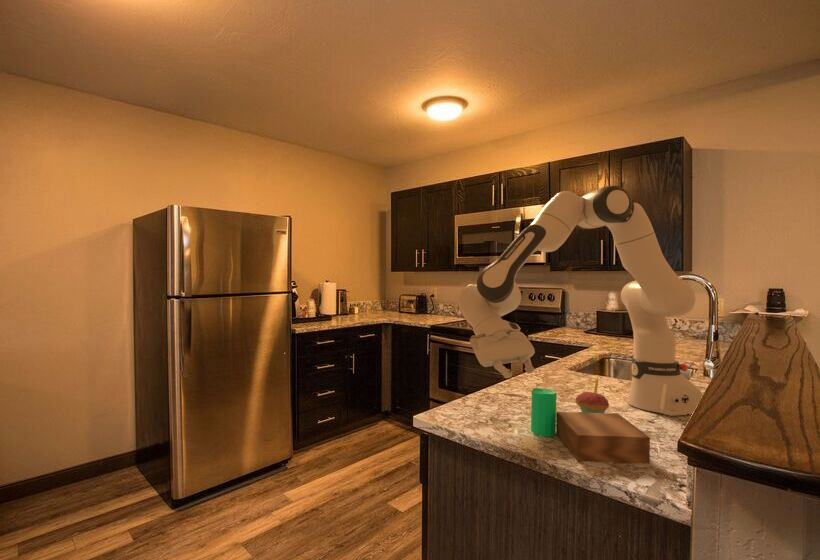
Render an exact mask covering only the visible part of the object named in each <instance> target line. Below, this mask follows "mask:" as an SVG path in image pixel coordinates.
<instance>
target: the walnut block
mask: <svg viewBox="0 0 820 560" xmlns="http://www.w3.org/2000/svg"><path fill="white" fill-rule="evenodd" d="M556 434H557V435H556ZM556 434H555V435H556V436H557V437H558V439H559V438H560V439H559V440H560V441H561V443H562V444H563V443H564V444H563V445H564V446H565V447H566V449H567V448H568V449H567V450H568V451H569V453H570V452H571V453H572V454H571V453H570V454H571V455H572V457H573V458H574V457H575V458H574V459H575V461H576V462H583V461H590V463H591V462H592V461H593V462H592V463H610V462H615V463H614V464H637V465H638V464H639V463H641V464H642V465H643V464H644V465H650V460H651V459H650V455H651V453H650V452H651V449H650V448H651V445H650V444H651V437H650V436H649V435H648V434H647V433H645V432H643V431H642V430H641V429H639V428H638V427H637V426H635V424H633V423H632V422H630V421H628V419H626V418H624V417H623V416H622V415H621V414H619V413H614V412H613V413H611V412H610V413H609V412H607V413H606V412H604V413H582V411H580V412H576V411H575V412H574V411H556ZM616 462H617V463H616Z"/></svg>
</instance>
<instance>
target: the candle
mask: <svg viewBox="0 0 820 560" xmlns="http://www.w3.org/2000/svg"><path fill="white" fill-rule="evenodd" d="M530 406H531V407H530V408H531V409H530V410H531V411H530V412H531V413H530V414H531V416H530V431H532V432H533V433H535V434H534V435H536V434H537V435H536V436H538V435H541V436H540V437H544V436H551V437H554V436H556V434H555V433H556V414H557V391H554V390H552V389H550V388H541V387H540V388H539V387H534V388H532V389H531V405H530ZM532 432H531V433H532ZM533 433H532V434H533ZM553 435H554V436H553Z"/></svg>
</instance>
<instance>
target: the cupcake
mask: <svg viewBox="0 0 820 560" xmlns="http://www.w3.org/2000/svg"><path fill="white" fill-rule="evenodd" d="M598 387H599V377H597V378H596V379H595V383H594V390H593V392H592V391H584V392H582V393H579V394H578V395H577V396H576V397H575V403H576V405H577V406H578V407H579V408H580V412H582V413H606V410H607V409H608V408H609V406H610V404H609V400H608V399H607V398H606V396H605V395H602V394H601V393H598Z"/></svg>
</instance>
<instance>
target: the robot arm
mask: <svg viewBox="0 0 820 560" xmlns="http://www.w3.org/2000/svg"><path fill="white" fill-rule="evenodd" d="M603 227H607V229H608V230H609V231H610V232H611V234H612V237H613V239H612V240H613V242H614V245H615V248H616V250H617V252H618V253H617V254H618V255H619V258H620V261H621V265H622V267H623V268H624V270H626V272H629V274H630V275H631V276H632V277H633V279H634V280H633V281H631V282H628V283H627V284H624V286H623V288H622V289H621V293H620V300H621V302H622V304H623V305H624V307H625V308H626V310H627V313H628V315H629V319H630V323H631V327H632V333H633V334H632V335H633V356H632V358H631V375H632V377H631V384H630V390H629V393H628V396H627V399H626V403H627V404H628V405H630V406H631V407H635V408H636V409H640V410H644V411H647V412H648V411H649V412H653V413H658V414H662V415H666V416H671V417H672V416H690V415H691V414H692V413H693V411H694V409H695V408H696V406H697V404H698V402H699V401H700V399H701V397H703V393H702V391H701V389H700V388H699V387H698V386H696V384H694V383H693V382H692V381H690V380H689V379H687V378H686V377H685V376H684V375H682V372H681V371H683V372H685V373H686V372H688V371H689V368H690V367H689V366H688V365H687V364H685V363H679V362H677V361H676V336H675V334H674V332H673V330H671V328H670V326H669V324H668V321H667V318H674V317H679V316H684V315H688V313H690V312H691V311H692V310H693V309H694V307H695V305H696V298H697V297H696V294H695V292H694V289H693V288H692V287H691V286H690V285H689V284H687V283H686V282H685V281H684V280H682V279H681V278H680V277H679V276H678V274H677V273H676V272H675V271H674V269H672V267H671V266H670V264H669V262H668V261H667V259H666V258H665V256H664V254H663V251H662V249H661V246H660V244H659V241H658V238H657V236H656V232H655V230H654V228H653V224H652V223H651V220H650V218H649V217H648V215H647V212H646V211H645V209H644V208H643V206H642V205H641V204H639V203H638V202H634V201H633V199H632V197H631V195H630V194H629V192H628V191H627V190H626V189H625V188H623V187H622V186H619V185H608V186H607V185H606V186H603V187H601V188H597V189H595V190H591V191H589V192H587V193H586V194H584V195H582V196H579V195H578V194H577V193H575V192H572V191H570V190H563V191H560V192H557V193H556V194H555V195H554V196H553V197H552V198H551V199H550V200H549V201H548V202H547V203H546V204H545V205H544V206H543V208H541V210H540V211H539V212H538V214H537V215H536V217H535V218H534V219H533V221H532V222H531V223H530V225H528V226H527V227H526V228H524V229H523V230H522V231H521V232H520V233H519V234H518V236H516V237H515V239H514V240H513V241H512V242H511V243H510V245H508V246H507V248H506V249H504V251H503V253H501V255H500V256H499V257H498V258H497V259H496V260H495V261H493V262H492V263H491V264H489V265H487V266H485V268H483V269H482V270H481V272H480V273H479V275H478V276H477V279H476V284H473V283H471V284H468V285H467V286H465V287H464V288H462V289H461V291H460V292H459V294H458V297H457V306H458V308H459V310H460V312H461V314H462V315H463V317H464V319H465V321H466V322H467V323H468V324H469V325H470V326H471V327H472V331H473V333H474V334H473V335H471V336H470V338H469V343H470V344H471V346H472V350H473V352H474V353H473V354H474V355H475V356H476V359H477V360H478V362H479V364H480V365H481V366H482V367H484V368H488V367H492V366H493V368H494V369H495V370H496V371H498V372H499V373H501V375H502V376H503V378H504V379H509V378H511V377H512V376H513V372H512V371H511V369H510V368H507V367H506V366H504V365H505V364H510V363H516V362H520V361H521V363H522V364H524V370H525V372H526V373H527V374H531V373H533V372H534V371H535V368H534V366H533V365H532V361H531V358H532V357H533V356H534V354H535V353H536V351H535V348H534V346H533V344H532V343H531V341H530V340H529V339H528V337H527V336H526V335H525V333H523V332H521V327H520V326H519V324H517V323H515V322H510V321H508V320H505V319H503V318H502V317H504V316H506V315H508V314H510V313H512V312H513V311H515V310H517V309H518V308H519V306H521V303H522V299H523V295H522V291H521V290H520V288H519V286H518V285H517V283H516V277H517V274H518V272H519V271H520V269H521V268H522V267H523V266H524V265H525V264H526V262H527V261H528V260H529V259H530V258H531V256H532V255H533V254H534V253H535V252H537V251H539V252H543V253H552V252H555V251H557V250H558V249H559V248H560V247H561V246H562V245H564V243H565V242H566V241H567V239H568V238H569V236H570V235H571V234H572V232H573V231H574V229H575V228H576V229H579V230H591V229H597V228H603ZM687 414H689V415H687ZM691 416H692V415H691Z"/></svg>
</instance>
